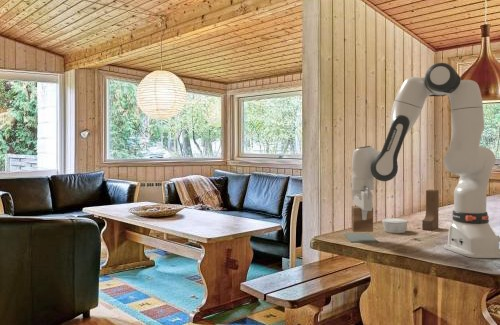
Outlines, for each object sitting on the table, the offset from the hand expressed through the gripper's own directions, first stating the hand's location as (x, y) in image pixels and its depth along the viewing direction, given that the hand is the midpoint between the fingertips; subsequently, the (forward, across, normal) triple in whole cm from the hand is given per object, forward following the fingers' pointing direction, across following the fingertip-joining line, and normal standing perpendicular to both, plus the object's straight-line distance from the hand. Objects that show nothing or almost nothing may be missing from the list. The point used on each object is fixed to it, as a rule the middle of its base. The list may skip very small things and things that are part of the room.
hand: (362, 218), depth 187 cm
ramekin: (+10, +19, -19) cm, 28 cm away
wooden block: (+9, +24, -37) cm, 45 cm away
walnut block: (+5, 0, 0) cm, 5 cm away
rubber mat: (+9, +5, 0) cm, 10 cm away
